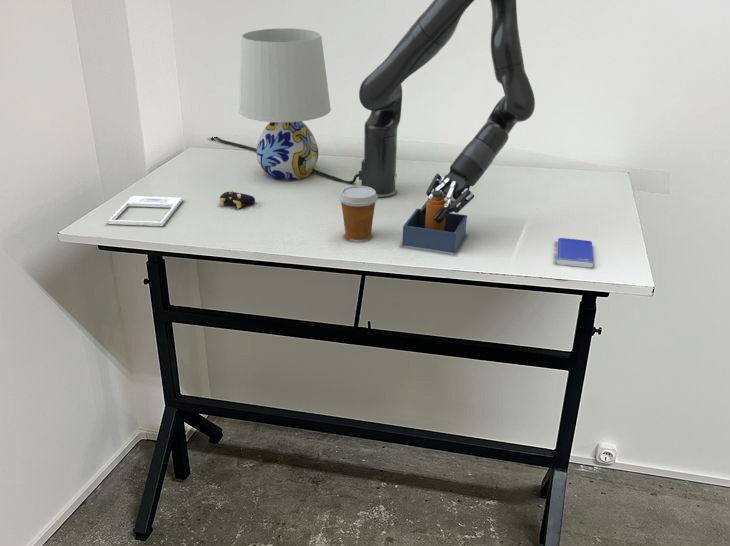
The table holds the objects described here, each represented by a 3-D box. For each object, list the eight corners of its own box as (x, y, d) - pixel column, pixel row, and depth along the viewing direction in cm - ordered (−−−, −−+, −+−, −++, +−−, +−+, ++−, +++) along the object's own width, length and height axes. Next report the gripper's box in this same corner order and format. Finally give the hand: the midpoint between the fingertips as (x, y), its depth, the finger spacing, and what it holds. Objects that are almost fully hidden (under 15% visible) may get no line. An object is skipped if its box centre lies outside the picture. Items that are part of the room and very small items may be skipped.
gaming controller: (257, 198, 201) (248, 189, 196) (251, 216, 200) (241, 207, 195) (228, 193, 205) (218, 184, 199) (222, 210, 204) (212, 201, 198)
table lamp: (283, 153, 238) (276, 24, 217) (349, 169, 225) (348, 32, 203) (226, 176, 220) (212, 36, 198) (294, 194, 207) (286, 47, 185)
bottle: (422, 238, 178) (424, 194, 171) (427, 230, 182) (430, 187, 175) (441, 241, 176) (444, 197, 170) (446, 233, 180) (449, 190, 174)
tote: (402, 247, 177) (403, 226, 174) (415, 228, 186) (416, 208, 183) (454, 255, 173) (455, 233, 170) (465, 235, 182) (467, 215, 179)
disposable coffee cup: (348, 247, 177) (348, 201, 170) (333, 232, 184) (333, 188, 177) (383, 240, 180) (384, 195, 173) (367, 226, 187) (367, 182, 181)
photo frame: (181, 197, 202) (161, 221, 187) (182, 200, 202) (162, 225, 187) (131, 195, 203) (107, 220, 188) (132, 199, 203) (108, 223, 188)
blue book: (593, 262, 166) (592, 240, 176) (557, 258, 168) (558, 237, 178) (592, 268, 167) (591, 246, 177) (556, 264, 169) (557, 243, 179)
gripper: (447, 144, 176) (404, 200, 178) (484, 161, 166) (438, 219, 168) (463, 162, 181) (421, 215, 183) (499, 179, 171) (454, 236, 173)
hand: (429, 217), depth 175 cm, fingers closed on bottle, 5 cm apart
